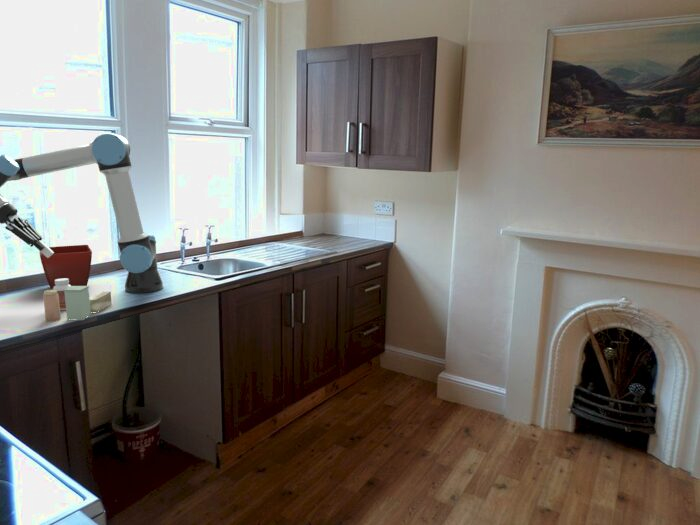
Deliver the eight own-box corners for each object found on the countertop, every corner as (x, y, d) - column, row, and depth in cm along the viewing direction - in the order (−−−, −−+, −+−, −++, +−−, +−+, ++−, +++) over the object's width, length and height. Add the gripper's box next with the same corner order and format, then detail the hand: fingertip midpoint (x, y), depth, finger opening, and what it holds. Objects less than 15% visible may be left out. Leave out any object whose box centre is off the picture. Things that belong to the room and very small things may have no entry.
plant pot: (95, 290, 234) (92, 250, 231) (44, 295, 225) (39, 254, 221) (91, 281, 250) (87, 244, 247) (43, 285, 241) (38, 247, 238)
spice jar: (60, 316, 196) (57, 288, 194) (61, 320, 192) (58, 291, 190) (45, 318, 194) (42, 290, 192) (45, 322, 190) (42, 293, 188)
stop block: (88, 313, 200) (87, 299, 199) (103, 304, 212) (102, 291, 211) (97, 313, 200) (95, 299, 199) (111, 304, 212) (110, 291, 211)
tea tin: (66, 320, 192) (63, 289, 190) (75, 315, 198) (72, 285, 196) (83, 320, 192) (80, 290, 190) (91, 315, 198) (88, 286, 196)
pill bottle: (76, 308, 207) (73, 279, 204) (59, 311, 202) (56, 282, 200) (69, 305, 211) (66, 276, 208) (52, 308, 206) (49, 279, 204)
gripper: (4, 215, 211) (52, 259, 215) (-17, 218, 198) (35, 265, 202) (17, 201, 210) (65, 245, 214) (-2, 203, 197) (49, 251, 201)
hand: (50, 255), depth 208 cm, fingers closed
